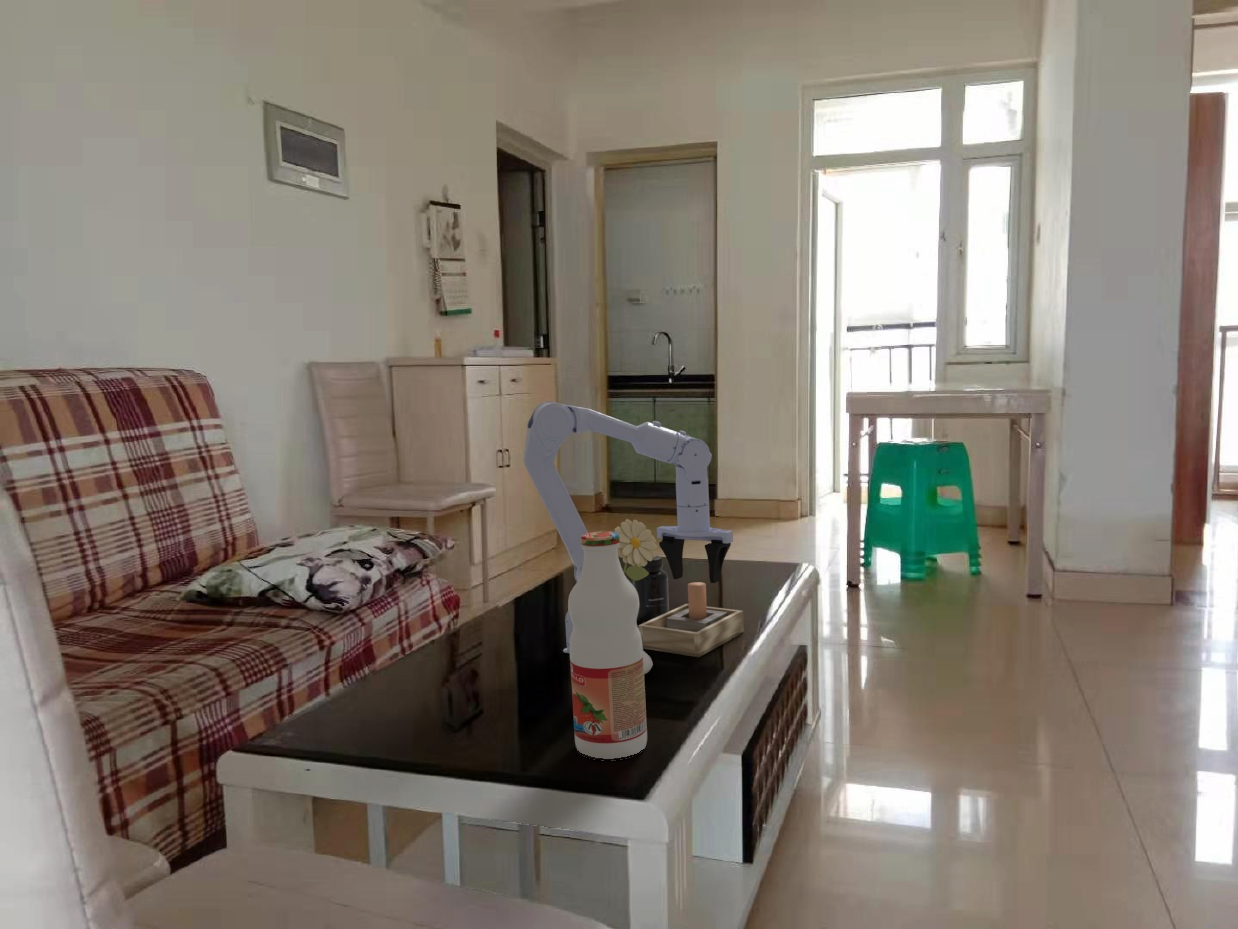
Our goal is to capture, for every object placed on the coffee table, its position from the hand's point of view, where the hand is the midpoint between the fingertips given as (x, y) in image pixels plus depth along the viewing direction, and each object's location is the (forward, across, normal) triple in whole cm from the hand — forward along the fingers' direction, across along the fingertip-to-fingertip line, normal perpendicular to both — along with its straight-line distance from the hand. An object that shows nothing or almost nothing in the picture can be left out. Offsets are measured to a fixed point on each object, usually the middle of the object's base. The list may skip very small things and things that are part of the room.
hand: (696, 580), depth 166 cm
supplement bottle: (+11, +14, -7) cm, 19 cm away
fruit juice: (+11, -15, +47) cm, 50 cm away
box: (+10, 0, +2) cm, 11 cm away
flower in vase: (+11, 0, +23) cm, 25 cm away
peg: (+10, 0, 0) cm, 10 cm away
